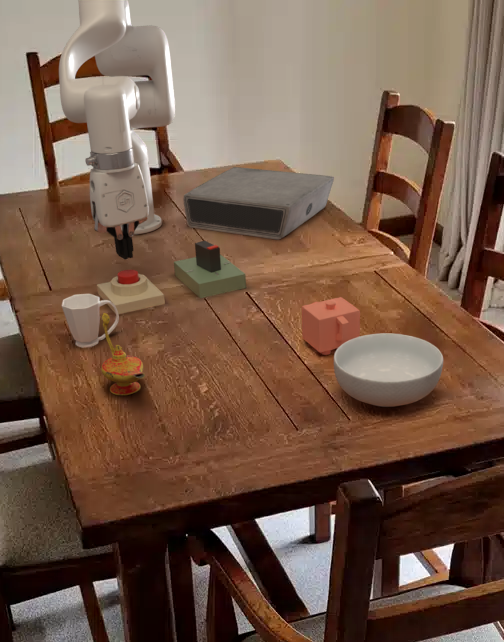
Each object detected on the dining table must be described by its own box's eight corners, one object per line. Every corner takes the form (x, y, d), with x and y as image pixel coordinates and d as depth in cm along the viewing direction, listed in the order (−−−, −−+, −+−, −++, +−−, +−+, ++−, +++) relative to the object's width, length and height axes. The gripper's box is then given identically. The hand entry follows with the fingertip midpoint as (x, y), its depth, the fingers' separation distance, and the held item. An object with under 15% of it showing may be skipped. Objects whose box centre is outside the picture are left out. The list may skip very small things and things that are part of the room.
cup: (63, 339, 174) (55, 298, 170) (114, 327, 178) (108, 286, 173) (74, 354, 169) (67, 312, 164) (127, 341, 173) (121, 299, 168)
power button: (115, 280, 187) (114, 271, 186) (135, 276, 189) (134, 267, 188) (122, 287, 184) (121, 278, 183) (141, 283, 186) (140, 274, 185)
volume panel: (174, 275, 198) (173, 260, 196) (219, 266, 201) (217, 251, 199) (200, 298, 187) (198, 283, 185) (246, 288, 190) (245, 273, 189)
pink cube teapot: (332, 327, 173) (332, 284, 169) (365, 352, 164) (366, 308, 160) (294, 336, 171) (293, 293, 166) (325, 362, 162) (324, 317, 157)
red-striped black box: (196, 265, 194) (194, 242, 191) (206, 262, 195) (204, 239, 192) (211, 272, 190) (209, 249, 187) (221, 269, 191) (219, 246, 188)
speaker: (176, 227, 223) (290, 241, 211) (173, 193, 219) (289, 206, 206) (226, 197, 240) (335, 209, 228) (224, 165, 236) (334, 175, 223)
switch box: (97, 293, 192) (95, 274, 189) (144, 283, 195) (142, 265, 192) (116, 315, 182) (113, 295, 180) (165, 304, 186) (163, 284, 183)
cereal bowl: (365, 432, 143) (366, 390, 138) (315, 385, 155) (315, 346, 151) (461, 405, 148) (465, 364, 144) (405, 363, 160) (407, 324, 156)
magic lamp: (126, 421, 149) (117, 357, 142) (92, 375, 162) (82, 315, 156) (167, 410, 151) (160, 347, 145) (130, 365, 164) (122, 306, 158)
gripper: (85, 171, 167) (99, 271, 177) (158, 155, 174) (168, 252, 184) (66, 163, 172) (81, 261, 183) (138, 147, 179) (149, 243, 189)
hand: (125, 256), depth 183 cm, fingers closed
